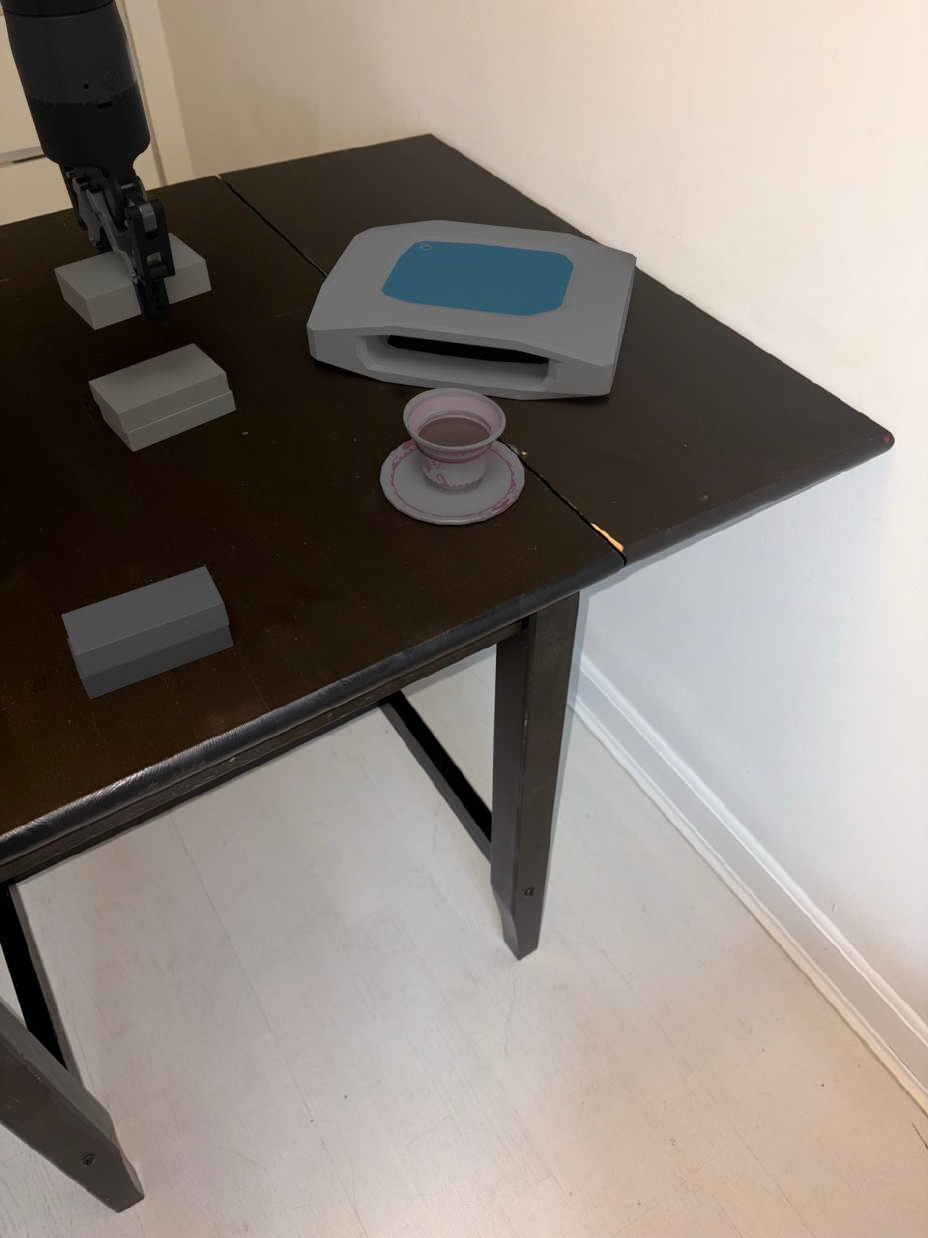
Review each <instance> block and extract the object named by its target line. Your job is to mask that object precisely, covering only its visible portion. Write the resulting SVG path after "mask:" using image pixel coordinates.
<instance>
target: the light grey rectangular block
mask: <svg viewBox="0 0 928 1238" xmlns="http://www.w3.org/2000/svg"><path fill="white" fill-rule="evenodd" d="M168 234H169V239H170V245H171V251H172V256H173V262H174V267H175V276H172V277H167V278H164V282H165V286H166V290H167V295H168V299H169V303H170V305H173V304H175V303H178V302H181V301H184V300H186V299H190V298H193V297H195V296H198V295H201V294H203V293H204V294H205V293H207V292H209V291H212V287H211V281H210V277H209V271H208V267H207V262H206V259H205V258H204V257H202V256H201V255H200V254H198V252H196V251H194V249H192V248H191V247H189V246H188V245H187V244H186V243H185V242H184V241H182V240H181V239H179V238H178V237H177V235H175V234H173V233H172V232H168ZM132 252H133V250H132ZM133 255H134V253H133ZM149 261H152V260H151V258H150V255H149V256H148V257H147V262H149ZM53 271H54V273H55V276H56V280H57V282H58V285H59V288H60V291H61V295H62V297H63V300H64V301H65V302H66V303H67V304H68V305H69V306H70V307H71V308H72V309H73V311H75V312H76V313H77V314H78V315H79V316H80V317H81V318H82V319H83V320H84V321H85V322H86V323H87V324H88V325H89V326H90V327H91V328H92V329H93V330H94V331H96V330H99V329H103V328H105V327H108V326H111V325H114V324H117V323H120V322H122V321H125V320H128V319H131V318H134V317H137V316H139V315H141V310H140V307H139V303H138V299H137V296H136V292H135V288H134V285H133V282H132V279H131V277H130V273H129V270H128V268H127V265H126V263H125V261H124V258H123V256H122V254H120V253H117V252H115V251H114V250H113V251H110V252H107V253H104V254H100V255H98V254H97V255H93V256H91V257H88V258H85V259H82V260H78V261H75V262H71V263H68V264H65V265H62V266H59V267H58V266H57V267H55V268H53Z"/></svg>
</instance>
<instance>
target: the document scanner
mask: <svg viewBox="0 0 928 1238" xmlns="http://www.w3.org/2000/svg"><path fill="white" fill-rule="evenodd" d="M637 259H638V258H637V257H636V256H635V255H634V254H633V253H631V252H627V251H624V250H621V249H617V248H615V247H611V246H608V245H605V244H601V243H598V242H596V241H593V240H589V239H586V238H583V237H580V236H577V235H574V234H572V233H567V232H557V231H549V230H541V229H539V230H538V229H530V228H522V227H513V226H503V225H493V224H482V223H473V222H462V221H453V220H445V219H432V220H423V221H416V222H408V223H400V224H399V223H398V224H392V225H391V224H390V225H383V226H382V225H381V226H375V227H370V228H368V229H365V230H363V231H362V232H360V233H358V234H356V235H354V236H353V238H352V239H351V241H350V242H349V244H348V245H347V247H346V248H345V250H344V251H343V253H342V254H341V256H340V257H339V259H338V260H337V262H336V263H335V265H334V266H333V268H332V269H331V271H330V273H329V274H328V275H327V277H326V278H325V280H324V281H323V283H322V285H321V286H320V289H319V292H318V294H317V297H316V299H315V302H314V305H313V307H312V310H311V313H310V316H309V318H308V320H307V324H306V332H307V339H308V345H309V346H308V347H309V353H310V356H312V357H313V358H314V359H315V360H317V361H320V362H323V363H325V364H329V365H332V366H335V367H338V368H341V369H344V370H347V371H349V372H350V371H351V372H352V373H357V374H359V375H362V376H365V377H369V378H371V379H374V380H377V381H381V382H386V383H393V384H400V385H408V386H414V387H421V388H422V387H423V388H429V389H430V388H431V389H439V388H459V389H465V390H470V391H473V392H476V393H479V394H482V395H484V396H492V397H497V398H506V399H513V400H520V401H528V400H529V401H532V400H534V401H535V400H549V399H551V400H552V399H565V398H566V399H567V398H569V399H570V398H585V397H598V396H599V397H600V396H601V397H602V396H605V395H608V394H610V392H611V390H612V386H613V383H614V379H615V374H616V370H617V366H618V361H619V356H620V352H621V347H622V344H623V343H622V342H623V339H624V334H625V329H626V323H627V318H628V314H629V308H630V303H631V299H632V293H633V287H634V280H635V273H636V265H637ZM391 336H399V337H407V338H416V339H424V340H431V341H432V340H433V341H439V342H448V343H455V344H464V345H472V346H480V347H488V348H495V349H497V348H498V349H504V350H513V351H518V352H522V353H527V354H530V355H536V356H538V357H543V358H547V359H548V362H544V363H529V362H514V361H513V362H512V361H499V360H497V361H496V360H485V359H484V360H483V359H477V358H467V357H461V356H452V355H445V354H438V353H432V352H427V351H426V352H424V351H419V350H414V349H413V350H412V349H406V348H400V347H395V346H393V345H391V344H389V343H388V341H389V339H390V337H391Z"/></svg>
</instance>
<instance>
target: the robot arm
mask: <svg viewBox="0 0 928 1238" xmlns="http://www.w3.org/2000/svg"><path fill="white" fill-rule="evenodd" d="M0 6H1V9H2V10H1V11H2V13H3V17H4V21H5V27H6V33H7V38H8V43H9V48H10V51H11V56H12V59H13V61H14V64H15V67H16V72H17V74H18V77H19V80H20V83H21V86H22V89H23V94H24V96H25V97H24V98H25V100H26V103H27V106H28V110H29V112H30V116H31V119H32V122H33V126H34V128H35V132H36V135H37V139H38V141H39V142H38V143H39V145H40V147H41V151H42V153H43V154H44V156H45V157H46V158H47V159H48V160H49V161H50V162H53V163H54V164H57V165H58V167H59V171H60V174H61V177H62V180H63V182H64V186H65V189H66V191H67V194H68V197H69V200H70V203H71V206H72V208H73V212H74V214H75V215H74V216H75V218H76V223H77V225H78V227H79V228H80V229H81V230H82V231H87V235H88V240H89V242H90V244H92V246H93V247H94V248H96V252H97V255H100V254H104V253H107V252H110V251H113V250H114V251H115V252H117V253H120V254H122V256H123V258H124V261H125V263H126V265H127V268H128V270H129V273H130V277H131V279H132V282H133V285H134V288H135V292H136V296H137V299H138V303H139V307H140V310H141V314H140V315H141V318H142V320H143V322H145V324H146V325H148V326H149V327H154V326H157V325H159V324H163V323H166V322H168V321H170V320H171V319H172V318H173V311H172V307H171V304H170V303H169V299H168V295H167V290H166V286H165V282H164V278H167V277H172V276H175V267H174V262H173V256H172V251H171V245H170V239H169V234H168V233H169V229H168V223H167V218H166V213H165V206H164V205H163V203H162V202H161V200H160V199H159V198H154V199H151V200H148V193H147V190H146V187H145V184H144V183H143V179H142V178H141V177H140V176H139V175H137V172H136V169H135V168H134V164H135V161H136V160H137V158H138V157H139V156H140V155H142V154H144V153H145V151H147V149H149V146H150V143H151V133H150V129H149V124H148V119H147V116H146V111H145V108H144V103H143V99H142V94H141V89H140V86H139V80H138V77H137V72H136V68H135V64H134V59H133V55H132V50H131V46H130V42H129V38H128V33H127V31H126V28H125V25H124V23H123V20H122V16H121V15H120V11H119V8H118V6H117V1H116V0H0ZM125 232H128V234H129V237H128V238H125ZM132 250H133V252H132ZM133 253H134V255H133ZM149 255H150V258H151V260H152V261H149V262H147V257H148V256H149Z"/></svg>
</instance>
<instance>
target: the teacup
mask: <svg viewBox="0 0 928 1238" xmlns="http://www.w3.org/2000/svg"><path fill="white" fill-rule="evenodd" d="M402 419H403V423H404V426H405V429H406V432H407V434H408V435H409V437H410V438H411V439H410V440H407V441H404V442H403V443H402V444H400V445H399V446H398V447H397V448H395V449H394V450H392V451H390V453H389V454H388V456H387V457H386V459H385V460H384V462H382V463H383V464H382V465H381V469H380V477H379V484H380V486H381V489H382V492H383V495H384V498H386V500H388V502H389V503H390V504H391V505H392V506H393V507H394V508H395V509H396V510H397V511H399V512H401V513H402V514H403V513H404V514H405V515H407V516H408V517H410V518H413V519H415V520H418V521H422V522H426V523H430V524H435V525H444V526H445V525H446V526H447V525H449V526H450V525H451V526H453V525H454V526H463V525H467V524H474V523H478V522H483V521H486V520H489V519H491V518H493V517H496V516H497V515H499V514H503V513H504V512H505V511H506V510H508V509H509V508H510V507H511V506H512V505H513V504H514V503H515V502H516V501H518V499H519V497H520V495H521V494H522V491H523V489H524V487H525V467H524V466H523V464H522V462H521V460H520V458H519V457H518V454H516V453H515V452H514V451H513V450H512V449H510V448H509V447H508V446H507V445H506V444H504V443H502V442H501V441H499V440H497V439H498V438H499V437H500V436H501V435H502V434H503V432H504V431H505V428H506V425H507V418H506V415H505V412H504V411H503V409H502V408H501V407H500V406H499V404H497V403H496V402H495V401H494V400H493V399H491V398H489V397H487V395H482V394H479V393H476V392H473V391H470V390H465V389H459V388H439V389H436V388H432V389H430V390H426V391H423V392H421V393H418V394H417V395H415V396H414V397H412V398H411V399H410V400H409V401H408V402H407V404H406V405H405V407H404V410H403V414H402Z"/></svg>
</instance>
